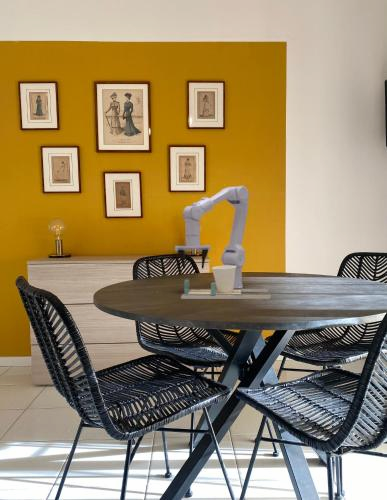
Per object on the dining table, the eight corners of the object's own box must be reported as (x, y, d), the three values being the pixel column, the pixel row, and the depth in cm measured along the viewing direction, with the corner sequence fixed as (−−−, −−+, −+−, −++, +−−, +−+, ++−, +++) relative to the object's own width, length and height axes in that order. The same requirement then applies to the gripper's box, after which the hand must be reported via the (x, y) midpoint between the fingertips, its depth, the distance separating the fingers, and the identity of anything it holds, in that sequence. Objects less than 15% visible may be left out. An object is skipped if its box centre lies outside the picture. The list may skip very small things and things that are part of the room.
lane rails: (185, 291, 210) (185, 278, 209) (267, 291, 207) (267, 277, 207) (181, 299, 193) (180, 284, 192) (270, 299, 190) (270, 284, 190)
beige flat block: (186, 291, 209) (186, 278, 208) (240, 291, 207) (240, 278, 207) (183, 296, 198) (183, 282, 197) (241, 296, 196) (241, 282, 196)
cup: (242, 293, 201) (241, 266, 200) (223, 297, 196) (221, 269, 195) (227, 291, 210) (226, 265, 209) (208, 294, 204) (206, 267, 203)
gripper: (174, 236, 202) (174, 269, 203) (210, 235, 201) (210, 269, 202) (175, 235, 209) (176, 267, 210) (210, 234, 208) (211, 267, 209)
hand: (193, 268), depth 207 cm, fingers open, 7 cm apart
